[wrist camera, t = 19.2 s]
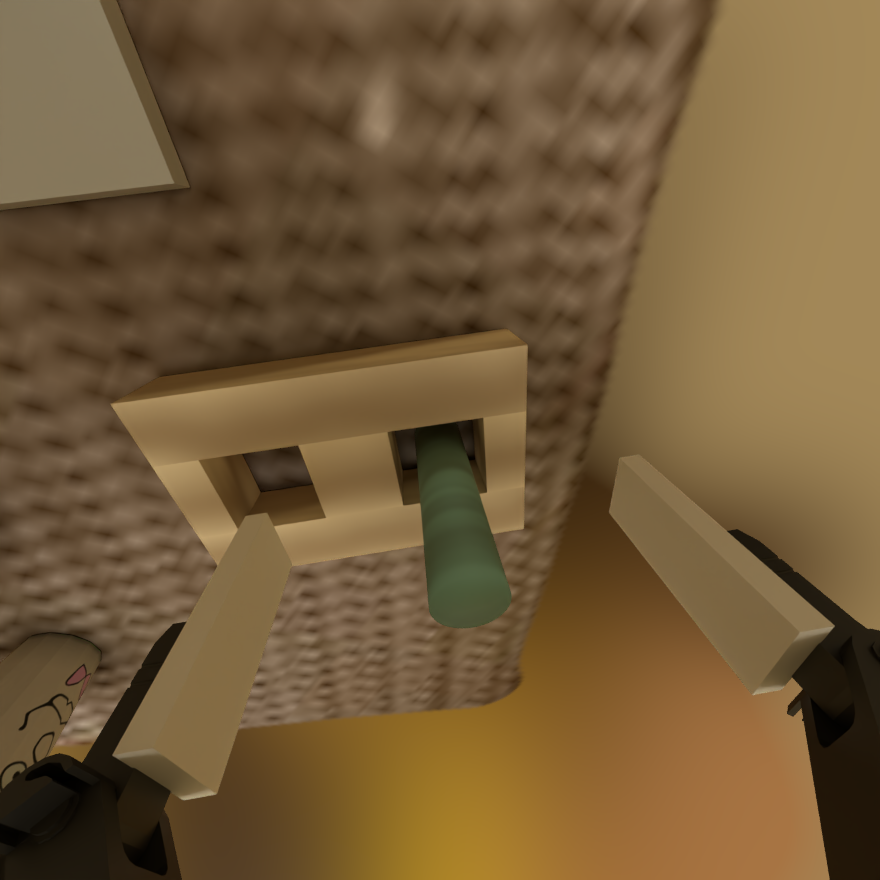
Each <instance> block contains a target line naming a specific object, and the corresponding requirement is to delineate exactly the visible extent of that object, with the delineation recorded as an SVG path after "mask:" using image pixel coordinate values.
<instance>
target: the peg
mask: <svg viewBox="0 0 880 880" xmlns="http://www.w3.org/2000/svg"><path fill="white" fill-rule="evenodd" d="M415 444H416V456H417V468H418V481H419V493H420V505H421V517H422V530H423V542H424V554H425V566H426V578H427V591H428V603H429V611H430V614H431V616H432V617H433V618H434V619H435V620H436V621H437V622H439V623H440V624H442V625H445V626H448V627H453V628H472V627H477V626H481V625H484V624H487V623H489V622H491V621H493V620H495V619H497V618H498V617H499V616H501V615H502V614H503V613H504V612H505V611H506V610H507V608H508V607H509V605H510V602H511V591H510V588H509V585H508V582H507V579H506V576H505V573H504V570H503V566H502V563H501V560H500V557H499V554H498V551H497V548H496V544H495V541H494V538H493V535H492V532H491V529H490V526H489V522H488V519H487V516H486V513H485V510H484V507H483V504H482V500H481V497H480V494H479V491H478V488H477V485H476V482H475V479H474V475H473V472H472V469H471V466H470V463H469V460H468V457H467V453H466V450H465V447H464V444H463V441H462V438H461V435H460V431H459V428H458V425H457V424H456V422H451V423H444V424H438V425H431V426H424V427H418V428H416V430H415Z"/></svg>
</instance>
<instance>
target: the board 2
mask: <svg viewBox="0 0 880 880" xmlns="http://www.w3.org/2000/svg"><path fill="white" fill-rule="evenodd" d="M527 355H528V345H527V344H526V343H525V342H523V341H522V340H521V339H519V338H518V337H517V336H516V335H514V334H513V333H512V332H510V331H509V330H508V329H507V328H506V329H499V330H492V331H485V332H478V333H471V334H464V335H456V336H449V337H442V338H435V339H428V340H421V341H414V342H406V343H399V344H392V345H385V346H378V347H371V348H364V349H356V350H349V351H342V352H335V353H328V354H321V355H314V356H306V357H299V358H292V359H285V360H278V361H271V362H264V363H256V364H249V365H242V366H235V367H228V368H221V369H214V370H206V371H199V372H192V373H185V374H178V375H171V376H164V377H158V378H156V379H155V380H153V381H151V382H149V383H148V384H146V385H144V386H142V387H140V388H139V389H137V390H135V391H133V392H131V393H130V394H128V395H126V396H124V397H123V398H121V399H119V400H117V401H115V402H114V403H112V404H111V406H112V407H113V409H114V410H115V412H116V413H117V415H118V416H119V418H120V419H121V421H122V422H123V424H124V425H125V427H126V428H127V430H128V431H129V433H130V434H131V436H132V437H133V439H134V440H135V442H136V443H137V445H138V446H139V448H140V449H141V451H142V452H143V454H144V455H145V457H146V458H147V460H148V461H149V463H150V464H151V466H152V467H153V469H154V470H155V472H156V473H157V475H158V476H159V478H160V479H161V481H162V482H163V484H164V485H165V487H166V488H167V490H168V491H169V493H170V494H171V496H172V498H173V499H174V501H175V502H176V504H177V505H178V507H179V508H180V510H181V511H182V513H183V514H184V516H185V517H186V519H187V520H188V522H189V523H190V525H191V526H192V528H193V529H194V531H195V532H196V534H197V535H198V537H199V538H200V540H201V541H202V543H203V544H204V546H205V547H206V549H207V550H208V552H209V553H210V555H211V556H212V558H213V559H214V561H215V562H216V564H217V565H219V563H220V561H221V559H222V557H223V556H224V554H225V552H226V550H227V549H228V547H229V545H230V543H231V541H232V540H233V538H234V536H235V534H236V532H237V531H238V529H239V527H240V525H241V523H242V522H243V520H244V518H245V516H249V515H255V514H262V513H267V514H268V516H269V518H270V520H271V522H272V524H273V526H274V528H275V530H276V532H277V534H278V536H279V538H280V540H281V542H282V544H283V546H284V548H285V550H286V552H287V554H288V556H289V558H290V560H291V562H292V566H297V565H303V564H309V563H315V562H321V561H328V560H334V559H340V558H346V557H352V556H358V555H365V554H371V553H377V552H383V551H389V550H395V549H402V548H408V547H414V546H420V545H424V542H423V530H422V517H421V505H420V493H419V481H418V468H417V469H411V470H404V471H403V470H402V465H401V460H400V456H399V451H398V446H397V441H396V436H395V431H398V430H404V429H411V428H418V427H424V426H431V425H438V424H444V423H451V422H458V421H464V420H471V419H473V433H474V447H475V460H469V463H470V466H471V469H472V472H473V475H474V479H475V482H476V485H477V488H478V491H479V494H480V497H481V500H482V504H483V507H484V510H485V513H486V516H487V519H488V522H489V526H490V529H491V532H492V534H494V533H500V532H506V531H513V530H519V529H524V495H525V448H526V401H527ZM297 445H298V446H299V448H300V451H301V453H302V456H303V459H304V461H305V464H306V467H307V469H308V472H309V474H310V477H311V480H312V482H313V485H307V486H300V487H294V488H287V489H281V490H274V491H268V492H260V490H259V488H258V486H257V484H256V482H255V480H254V478H253V475H252V473H251V471H250V469H249V467H248V465H247V463H246V461H245V459H244V457H243V455H242V454H244V453H250V452H257V451H264V450H270V449H277V448H284V447H290V446H297Z"/></svg>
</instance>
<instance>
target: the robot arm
mask: <svg viewBox="0 0 880 880" xmlns="http://www.w3.org/2000/svg"><path fill="white" fill-rule="evenodd" d="M609 513H610V514H611V516H612V517H613V518H614V519H615V521H616V522H617V523H618V525H619V526H620V527H621V528H622V530H623V531H624V532H625V534H626V535H627V536H628V537H629V539H630V540H631V541H632V542H633V544H634V545H635V546H636V548H637V549H638V550H639V551H640V553H641V554H642V555H643V556H644V558H645V559H646V560H647V562H648V563H649V564H650V565H651V567H652V568H653V569H654V570H655V572H656V573H657V574H658V576H659V577H660V578H661V579H662V581H663V582H664V583H665V585H666V586H667V587H668V588H669V590H670V591H671V592H672V593H673V595H674V596H675V597H676V598H677V600H678V601H679V602H680V604H681V605H682V606H683V607H684V609H685V610H686V611H687V613H688V614H689V615H690V616H691V618H692V619H693V620H694V622H695V623H696V624H697V625H698V627H699V628H700V629H701V630H702V632H703V633H704V634H705V635H706V637H707V638H708V639H709V641H710V642H711V643H712V644H713V646H714V647H715V648H716V650H717V651H718V652H719V653H720V655H721V656H722V657H723V659H724V660H725V661H726V662H727V664H728V665H729V666H730V667H731V669H732V670H733V671H734V672H735V674H736V675H737V676H738V678H739V679H740V680H741V681H742V683H743V684H744V685H745V686H746V688H747V689H748V690H749V692H750V693H751V694H752V695H756V694H761V693H766V692H771V691H777V690H782V689H783V687H784V686H785V685H786V684H787V683H788V681H789V680H790V679H791V678H793V679H794V680H795V681H796V682H797V683H798V684H799V685H800V686H801V687H802V688H803V690H802V691H801V692H800V693H799V694H798V695H797V696H796V697H795V699H794V700H793V701H792V702H791V703H790V704H789V705H788V711H787V714H789V715H791V716H794V715H795V714H796V713H797V712H798V711H799V710H800V709H801V708H802V713H803V719H802V721H804V726H805V732H806V738H807V744H808V750H809V755H810V762H811V768H812V774H813V781H814V787H815V793H816V799H817V805H818V811H819V816H820V823H821V829H822V835H823V841H824V847H825V852H826V859H827V865H828V872H829V877H830V880H880V631H879V630H874V629H867V628H865V627H864V626H863V625H861V624H860V623H859V622H857V621H856V620H854V619H853V618H852V617H851V616H850V615H848V614H847V613H846V612H845V611H844V610H843V609H841V608H840V607H839V606H838V605H836V604H835V603H834V602H833V601H832V600H830V599H829V598H828V597H826V596H825V595H824V594H823V593H822V592H821V591H819V590H818V589H817V588H816V587H814V586H813V585H812V584H811V583H810V582H808V581H807V580H806V579H805V578H804V577H802V576H801V575H800V574H799V573H797V572H794V571H793V568H791V567H790V566H789V565H788V564H787V563H785V562H784V561H783V560H782V559H778V556H777V555H776V554H774V553H773V552H772V551H771V550H770V549H768V548H767V547H766V546H765V545H764V544H762V543H761V542H760V541H758V540H756V539H755V538H753V537H751V536H749V535H747V534H745V533H743V532H741V531H740V530H738V529H736V530H731V531H726V530H725V529H724V528H723V527H721V526H720V525H719V524H718V523H717V522H716V521H715V520H713V519H712V518H711V517H710V516H709V515H708V514H707V513H705V512H704V511H703V510H702V509H701V508H700V507H699V506H697V505H696V504H695V503H694V502H693V501H692V500H691V499H689V498H688V497H687V496H686V495H685V494H684V493H683V492H681V491H680V490H679V489H678V488H677V487H676V486H675V485H673V484H672V483H671V482H670V481H669V480H668V479H667V478H665V477H664V476H663V475H662V474H661V473H660V472H659V471H657V470H656V469H655V468H654V467H653V466H651V464H649V463H648V462H647V461H646V460H645V459H644V458H643V457H641V456H640V455H634V456H627V457H621V458H619V463H618V468H617V473H616V478H615V484H614V489H613V494H612V500H611V504H610V510H609ZM291 566H292V562H291V560H290V558H289V556H288V554H287V552H286V550H285V548H284V546H283V544H282V542H281V540H280V538H279V536H278V534H277V532H276V530H275V528H274V526H273V524H272V522H271V520H270V518H269V516H268V514H267V513H262V514H255V515H249V516H245V518H244V520H243V522H242V523H241V525H240V527H239V529H238V531H237V532H236V534H235V536H234V538H233V540H232V541H231V543H230V545H229V547H228V549H227V550H226V552H225V554H224V556H223V557H222V559H221V561H220V563H219V565H218V566H217V568H216V570H215V572H214V574H213V575H212V577H211V579H210V581H209V583H208V584H207V586H206V588H205V590H204V592H203V593H202V595H201V597H200V599H199V601H198V602H197V604H196V606H195V608H194V609H193V611H192V613H191V615H190V617H189V618H188V620H187V622H182V623H176V624H173V625H172V626H171V627H170V628H169V629H168V630H167V631H166V632H165V633H164V634H163V635H162V636H161V637H160V638H159V640H158V641H157V642H156V643H155V644H154V646H153V647H152V649H151V651H150V652H149V654H148V655H147V657H146V659H145V660H144V662H143V664H142V668H141V669H139V670H138V672H137V674H136V675H135V677H134V679H133V680H132V682H131V686H130V688H127V690H126V692H125V693H124V695H123V697H122V698H121V700H120V702H119V703H118V705H117V707H116V708H115V710H114V711H113V713H112V715H111V716H110V718H109V720H108V721H107V723H106V725H105V726H104V728H103V730H102V731H101V733H100V735H99V736H98V738H97V739H96V741H95V743H94V744H93V746H92V748H91V750H90V751H89V753H88V754H87V756H86V758H85V759H84V761H83V762H82V763H81V762H79V761H78V760H76V759H74V758H73V757H71V756H68V755H64V754H60V753H59V754H55V755H52V756H48V757H45V758H43V759H41V760H40V761H38V762H36V763H35V764H33V765H31V766H30V767H28V768H26V769H25V770H24V771H23V772H21V773H20V774H19V775H18V776H17V777H15V778H14V779H13V780H12V781H11V782H9V783H8V784H7V785H6V786H5V787H4V788H3V790H2V791H1V792H0V880H182V878H181V874H180V869H179V865H178V860H177V855H176V851H175V847H174V841H173V837H172V832H171V827H170V823H169V818H168V816H167V814H166V813H165V811H164V807H165V804H166V802H167V799H168V797H169V795H170V792H171V793H173V794H174V795H176V796H177V797H179V798H181V799H182V800H187V799H193V798H198V797H204V796H209V795H215V794H217V791H218V788H219V785H220V782H221V779H222V776H223V773H224V770H225V767H226V764H227V761H228V758H229V755H230V752H231V749H232V745H233V743H234V740H235V737H236V734H237V731H238V728H239V725H240V722H241V718H242V715H243V712H244V709H245V706H246V703H247V700H248V697H249V694H250V691H251V688H252V685H253V682H254V679H255V676H256V673H257V670H258V667H259V664H260V661H261V658H262V655H263V652H264V649H265V645H266V642H267V639H268V636H269V633H270V630H271V627H272V624H273V621H274V618H275V615H276V612H277V609H278V606H279V603H280V600H281V597H282V594H283V591H284V588H285V585H286V582H287V579H288V576H289V573H290V569H291Z"/></svg>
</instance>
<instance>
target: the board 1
mask: <svg viewBox="0 0 880 880" xmlns="http://www.w3.org/2000/svg"><path fill="white" fill-rule="evenodd" d="M182 188H190V186H189V183H188V181H187V178H186V176H185V173H184V170H183V168H182V165H181V163H180V160H179V158H178V155H177V153H176V150H175V148H174V145H173V143H172V140H171V137H170V135H169V132H168V130H167V127H166V125H165V122H164V120H163V117H162V115H161V112H160V109H159V107H158V104H157V102H156V99H155V97H154V94H153V92H152V89H151V87H150V84H149V82H148V79H147V76H146V74H145V71H144V69H143V66H142V64H141V61H140V59H139V56H138V54H137V51H136V48H135V46H134V43H133V41H132V38H131V36H130V33H129V31H128V28H127V26H126V23H125V21H124V18H123V15H122V13H121V10H120V8H119V5H118V3H117V0H0V210H7V209H16V208H24V207H32V206H40V205H49V204H57V203H65V202H74V201H82V200H90V199H99V198H107V197H115V196H123V195H132V194H140V193H148V192H157V191H165V190H173V189H182Z"/></svg>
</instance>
